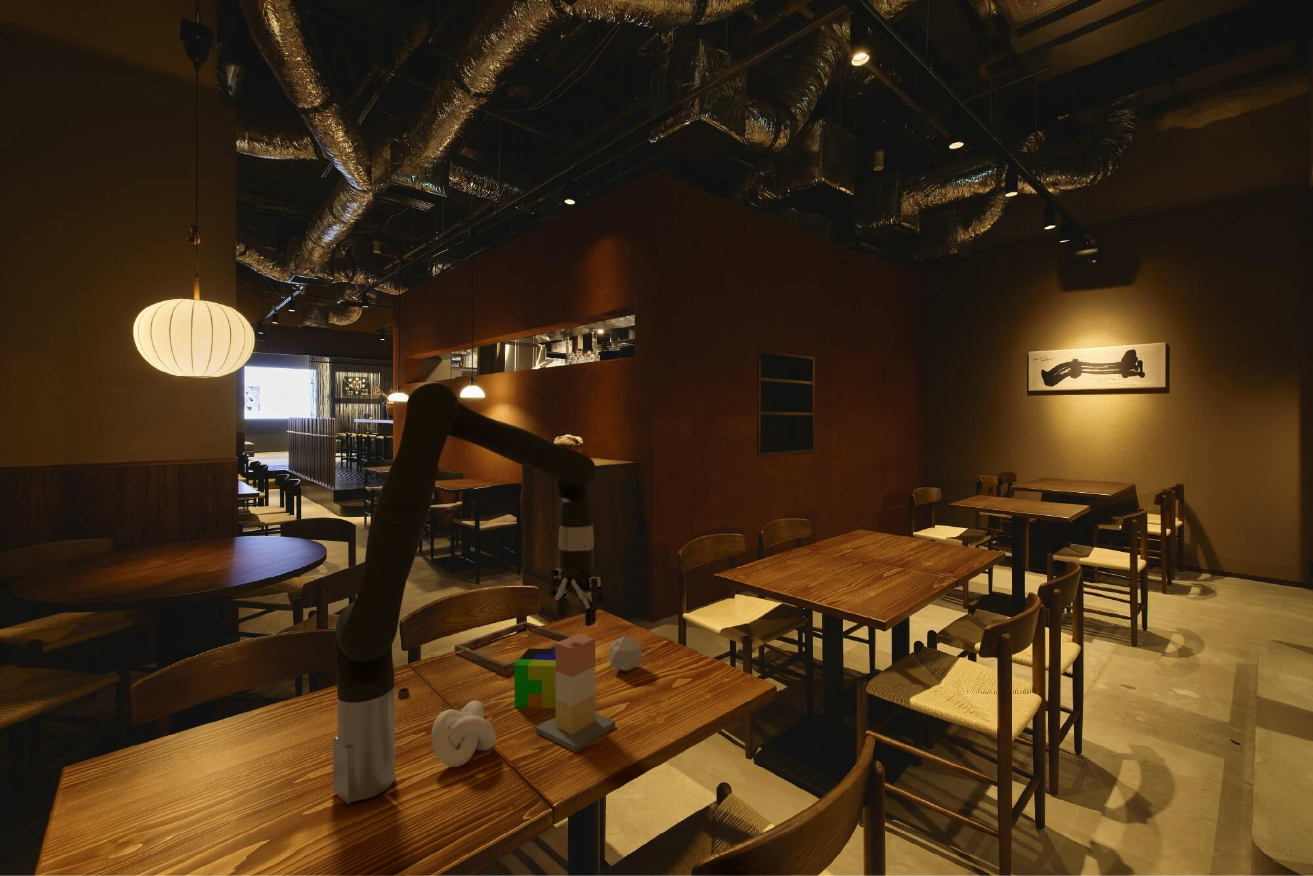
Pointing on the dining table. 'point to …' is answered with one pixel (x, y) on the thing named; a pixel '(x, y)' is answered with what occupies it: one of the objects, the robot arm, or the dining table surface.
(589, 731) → the baseplate
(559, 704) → the brick mustard
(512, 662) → the tray frame
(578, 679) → the brick white
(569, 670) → the brick terracotta
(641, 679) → the dining table surface
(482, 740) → the white knot
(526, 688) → the puzzle toy
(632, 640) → the die
